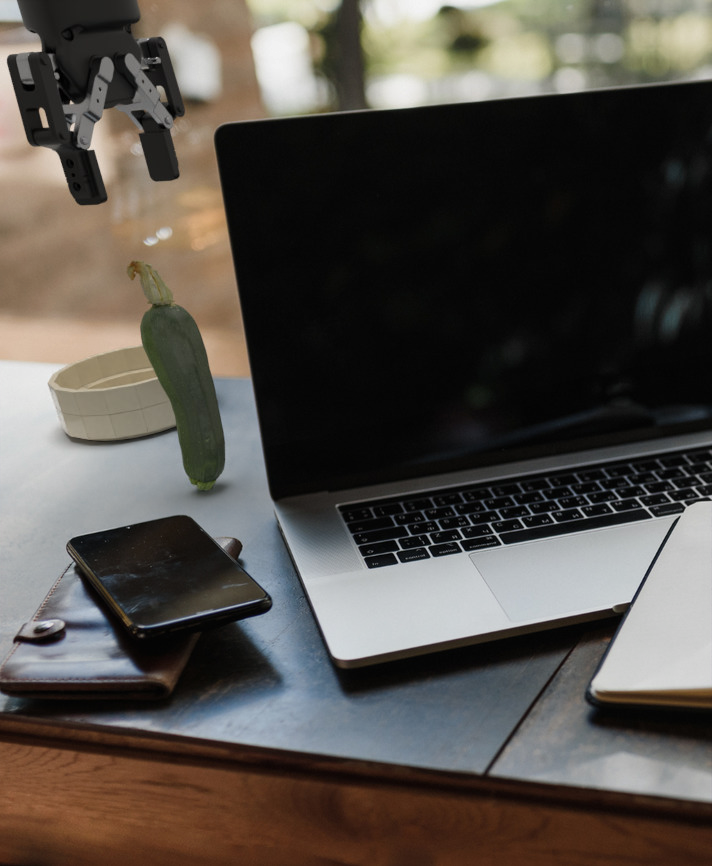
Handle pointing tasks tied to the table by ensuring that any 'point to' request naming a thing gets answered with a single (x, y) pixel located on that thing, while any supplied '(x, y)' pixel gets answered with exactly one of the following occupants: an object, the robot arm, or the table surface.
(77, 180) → the robot arm
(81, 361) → the bowl
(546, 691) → the table surface
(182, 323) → the vegetable
